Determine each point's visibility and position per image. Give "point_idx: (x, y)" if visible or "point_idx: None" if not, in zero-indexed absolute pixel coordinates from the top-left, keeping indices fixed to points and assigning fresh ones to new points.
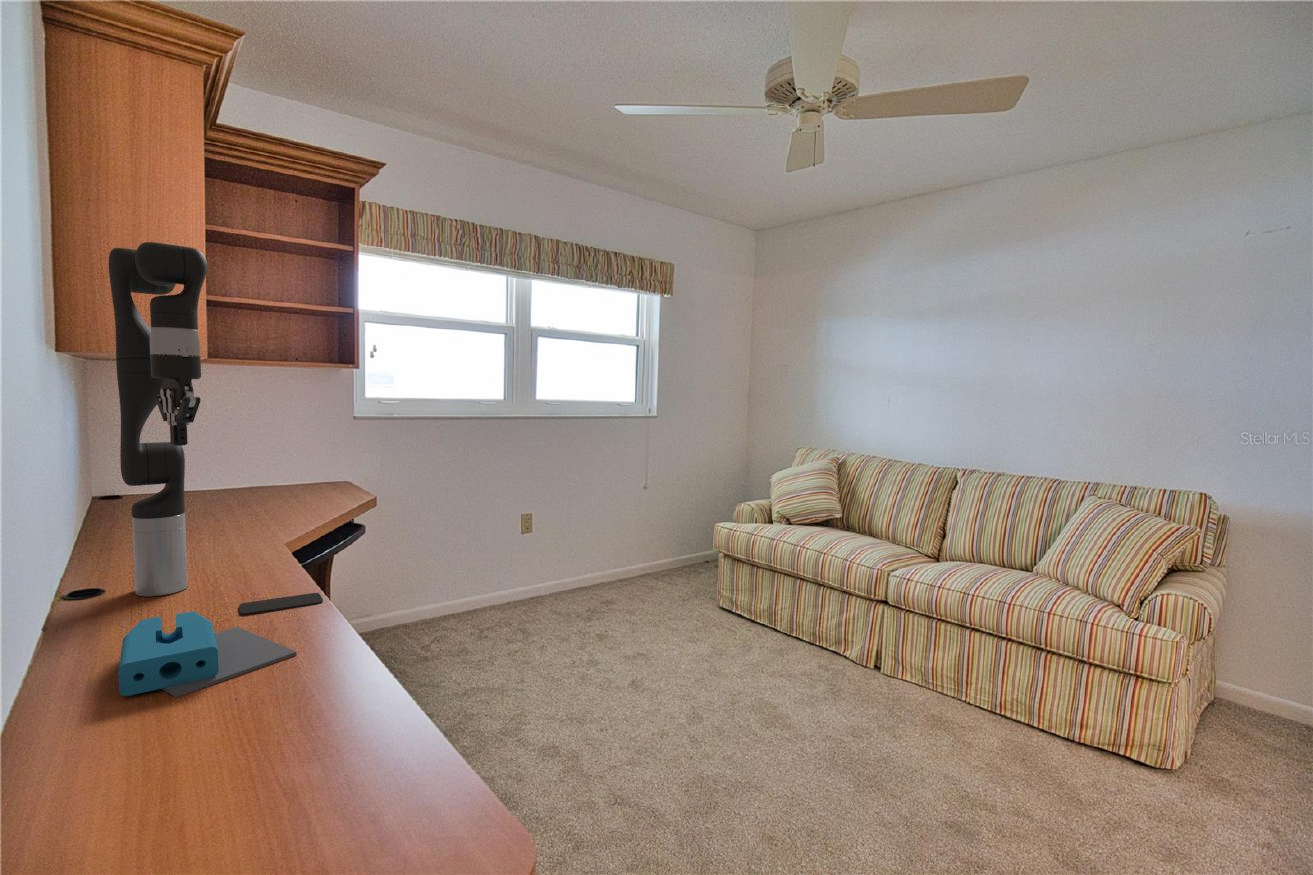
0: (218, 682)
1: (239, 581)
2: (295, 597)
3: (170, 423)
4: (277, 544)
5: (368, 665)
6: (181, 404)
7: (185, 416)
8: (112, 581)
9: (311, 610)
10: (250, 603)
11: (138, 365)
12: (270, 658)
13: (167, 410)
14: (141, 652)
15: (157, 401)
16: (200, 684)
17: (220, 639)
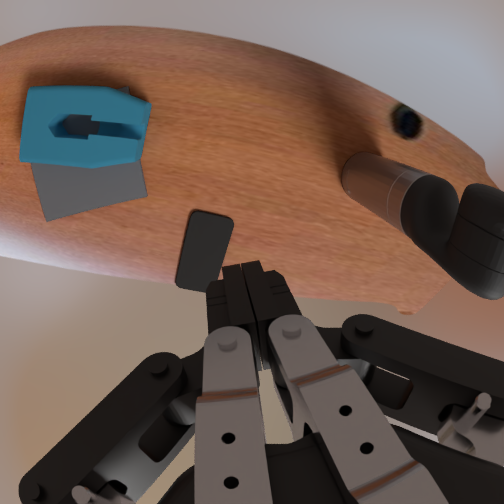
0: None
1: (329, 245)
2: (211, 271)
3: (269, 329)
4: (415, 306)
5: (8, 255)
6: (74, 470)
7: (170, 415)
8: (427, 156)
9: (159, 269)
10: (225, 229)
11: None
12: (44, 200)
13: (297, 395)
14: (42, 102)
15: (498, 373)
16: None
17: (118, 173)
